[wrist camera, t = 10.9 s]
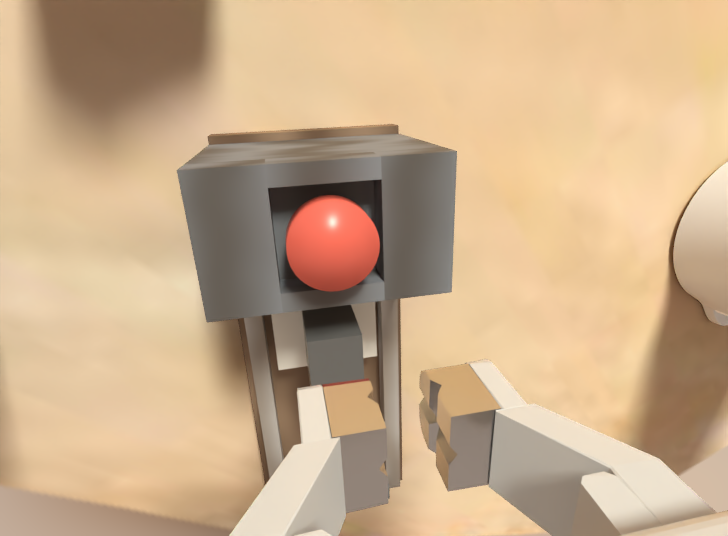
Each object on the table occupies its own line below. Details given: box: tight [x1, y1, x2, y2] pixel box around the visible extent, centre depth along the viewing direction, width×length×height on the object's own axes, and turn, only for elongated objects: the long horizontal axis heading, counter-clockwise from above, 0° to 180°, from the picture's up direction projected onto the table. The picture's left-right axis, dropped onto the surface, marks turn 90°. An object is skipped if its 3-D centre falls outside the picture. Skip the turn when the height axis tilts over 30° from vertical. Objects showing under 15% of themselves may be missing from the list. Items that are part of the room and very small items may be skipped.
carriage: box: [271, 302, 377, 386], centre depth 28 cm, size 7×6×8 cm
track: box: [177, 124, 457, 499], centre depth 30 cm, size 12×31×12 cm, turn 3°
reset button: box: [285, 195, 380, 292], centre depth 19 cm, size 4×4×2 cm
